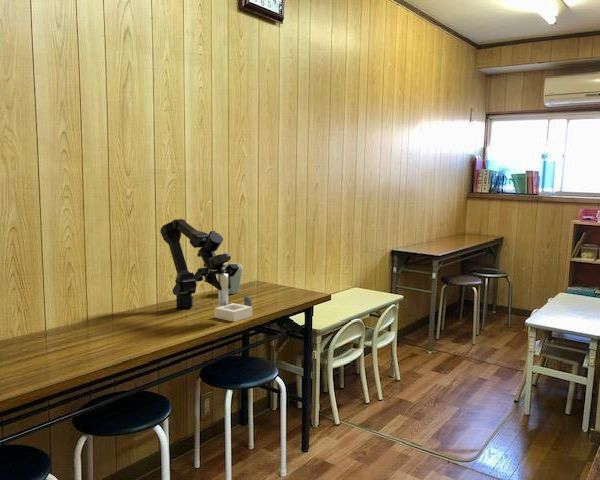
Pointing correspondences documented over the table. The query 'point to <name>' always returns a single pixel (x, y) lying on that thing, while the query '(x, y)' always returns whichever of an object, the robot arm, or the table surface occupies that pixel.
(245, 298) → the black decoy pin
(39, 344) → the table surface
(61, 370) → the table surface
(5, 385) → the table surface
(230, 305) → the socket block
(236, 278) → the disposable coffee cup
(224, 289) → the steel pin
